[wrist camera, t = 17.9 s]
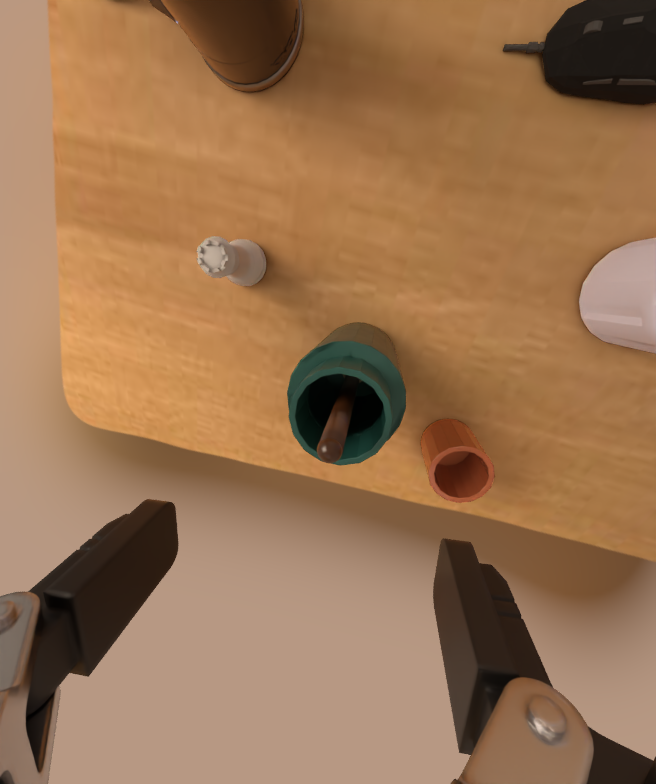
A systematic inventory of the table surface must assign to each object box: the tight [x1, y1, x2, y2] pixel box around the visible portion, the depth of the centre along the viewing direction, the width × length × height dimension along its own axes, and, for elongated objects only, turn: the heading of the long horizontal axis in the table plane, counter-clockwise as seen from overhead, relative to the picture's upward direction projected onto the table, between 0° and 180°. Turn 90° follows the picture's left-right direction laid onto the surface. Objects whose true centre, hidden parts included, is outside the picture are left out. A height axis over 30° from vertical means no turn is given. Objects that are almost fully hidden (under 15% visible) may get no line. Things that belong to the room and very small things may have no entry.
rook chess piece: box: [197, 236, 266, 286], centre depth 32 cm, size 4×4×8 cm
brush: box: [317, 374, 362, 463], centre depth 26 cm, size 2×2×22 cm
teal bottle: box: [287, 323, 406, 465], centre depth 29 cm, size 8×8×18 cm
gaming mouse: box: [503, 0, 656, 104], centre depth 26 cm, size 6×15×4 cm, turn 83°
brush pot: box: [421, 419, 495, 503], centre depth 35 cm, size 6×6×7 cm
